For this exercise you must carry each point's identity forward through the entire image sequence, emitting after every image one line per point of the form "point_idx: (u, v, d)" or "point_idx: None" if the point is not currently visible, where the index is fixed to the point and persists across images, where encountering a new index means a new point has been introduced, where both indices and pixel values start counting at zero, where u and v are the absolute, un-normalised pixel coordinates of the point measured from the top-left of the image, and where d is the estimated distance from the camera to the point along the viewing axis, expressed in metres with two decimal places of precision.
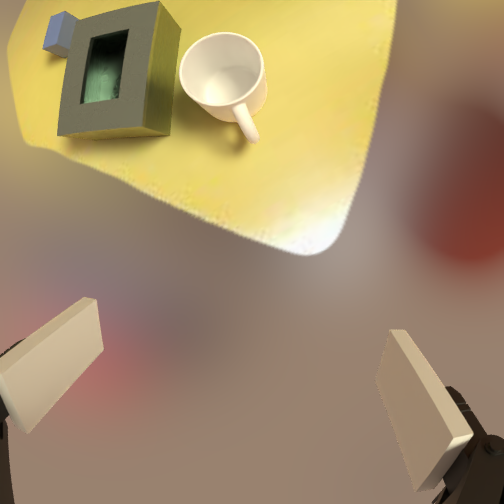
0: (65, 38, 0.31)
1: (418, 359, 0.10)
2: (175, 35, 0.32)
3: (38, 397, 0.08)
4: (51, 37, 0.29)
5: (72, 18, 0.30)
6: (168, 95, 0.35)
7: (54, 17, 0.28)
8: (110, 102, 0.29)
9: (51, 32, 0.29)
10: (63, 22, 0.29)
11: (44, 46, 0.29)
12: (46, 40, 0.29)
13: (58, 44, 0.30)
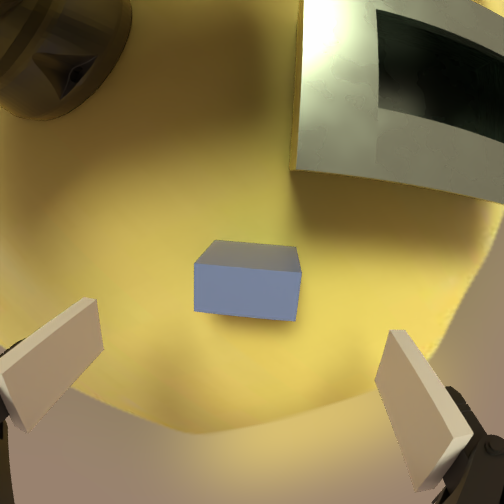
0: (274, 260, 0.19)
1: (418, 359, 0.10)
2: None
3: (38, 397, 0.08)
4: (271, 295, 0.18)
5: (211, 253, 0.20)
6: None
7: (202, 297, 0.18)
8: None
9: (254, 297, 0.18)
10: (231, 265, 0.18)
11: (290, 314, 0.18)
12: (273, 311, 0.18)
13: (300, 270, 0.18)
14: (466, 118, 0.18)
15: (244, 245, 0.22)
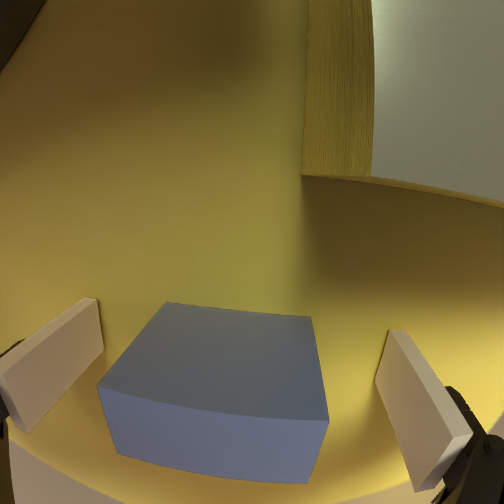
0: (269, 374, 0.08)
1: (418, 359, 0.10)
2: None
3: (39, 397, 0.08)
4: (260, 453, 0.07)
5: (144, 347, 0.09)
6: None
7: (126, 440, 0.07)
8: None
9: (225, 454, 0.07)
10: (171, 397, 0.07)
11: (297, 476, 0.07)
12: (265, 473, 0.07)
13: (327, 409, 0.07)
14: None
15: (215, 318, 0.12)
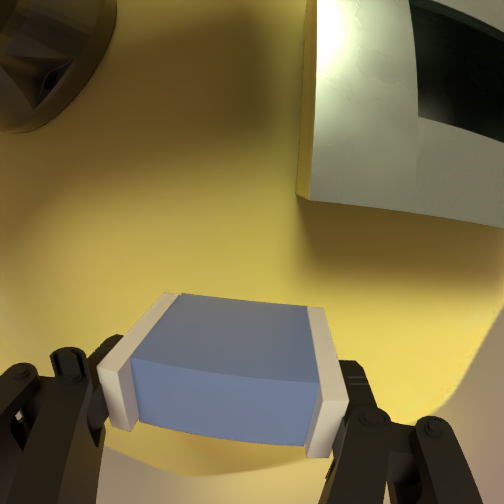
0: (271, 348, 0.10)
1: (322, 332, 0.12)
2: None
3: None
4: (263, 414, 0.09)
5: (166, 328, 0.11)
6: None
7: (149, 407, 0.09)
8: None
9: (234, 415, 0.09)
10: (192, 364, 0.09)
11: (295, 438, 0.09)
12: (267, 435, 0.09)
13: (318, 375, 0.09)
14: (497, 132, 0.15)
15: (225, 306, 0.14)
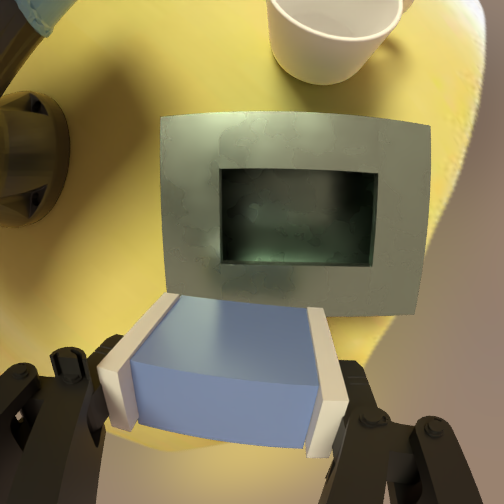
0: (270, 351, 0.10)
1: (322, 332, 0.12)
2: None
3: None
4: (262, 417, 0.09)
5: (165, 331, 0.11)
6: None
7: (148, 409, 0.09)
8: (383, 191, 0.16)
9: (233, 418, 0.09)
10: (191, 367, 0.09)
11: (294, 440, 0.09)
12: (266, 437, 0.09)
13: (317, 377, 0.09)
14: (362, 203, 0.24)
15: (224, 308, 0.14)
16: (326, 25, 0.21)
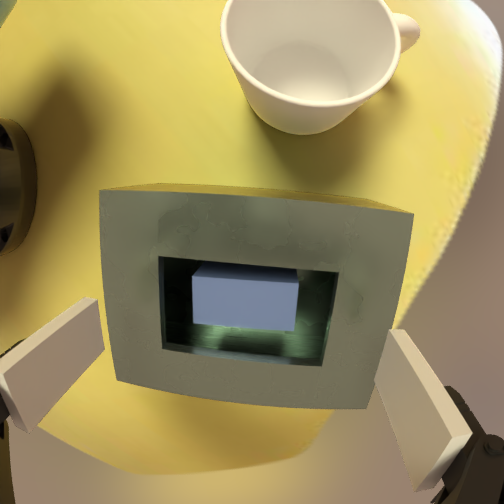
0: (272, 271, 0.19)
1: (417, 359, 0.10)
2: None
3: (39, 397, 0.08)
4: (269, 306, 0.18)
5: (209, 265, 0.20)
6: None
7: (201, 310, 0.18)
8: (343, 292, 0.15)
9: (252, 308, 0.18)
10: (229, 277, 0.18)
11: (288, 324, 0.18)
12: (272, 322, 0.18)
13: None
14: (332, 272, 0.23)
15: None
16: (313, 59, 0.20)
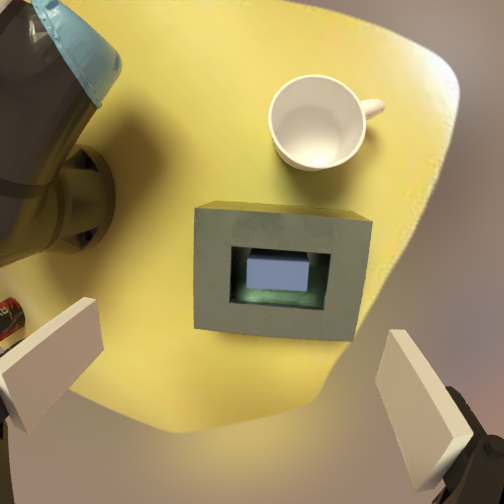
0: (292, 256, 0.32)
1: (418, 359, 0.10)
2: None
3: (38, 397, 0.08)
4: (292, 276, 0.30)
5: (254, 253, 0.33)
6: (310, 208, 0.34)
7: (252, 279, 0.31)
8: (334, 265, 0.28)
9: (282, 277, 0.30)
10: (268, 259, 0.30)
11: (303, 287, 0.30)
12: (293, 285, 0.31)
13: (308, 261, 0.30)
14: None
15: None
16: (317, 118, 0.33)
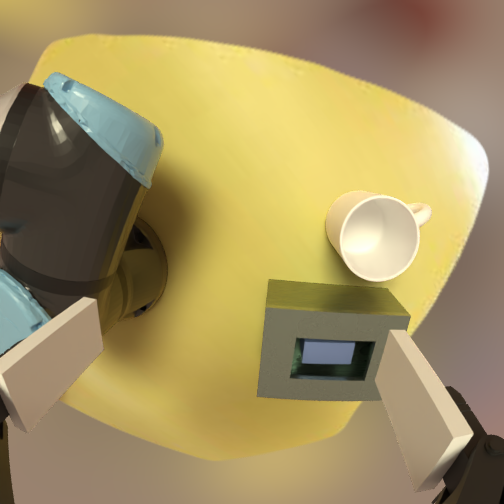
0: None
1: (418, 359, 0.10)
2: (283, 285, 0.38)
3: (38, 397, 0.08)
4: (340, 353, 0.34)
5: None
6: (354, 290, 0.38)
7: (307, 357, 0.35)
8: (376, 349, 0.32)
9: (332, 355, 0.34)
10: (322, 341, 0.34)
11: (348, 361, 0.34)
12: (340, 360, 0.34)
13: (354, 341, 0.34)
14: None
15: None
16: (365, 206, 0.36)
